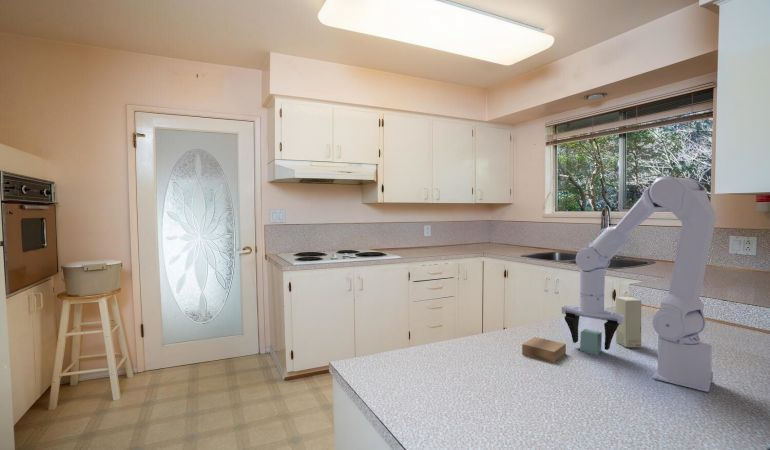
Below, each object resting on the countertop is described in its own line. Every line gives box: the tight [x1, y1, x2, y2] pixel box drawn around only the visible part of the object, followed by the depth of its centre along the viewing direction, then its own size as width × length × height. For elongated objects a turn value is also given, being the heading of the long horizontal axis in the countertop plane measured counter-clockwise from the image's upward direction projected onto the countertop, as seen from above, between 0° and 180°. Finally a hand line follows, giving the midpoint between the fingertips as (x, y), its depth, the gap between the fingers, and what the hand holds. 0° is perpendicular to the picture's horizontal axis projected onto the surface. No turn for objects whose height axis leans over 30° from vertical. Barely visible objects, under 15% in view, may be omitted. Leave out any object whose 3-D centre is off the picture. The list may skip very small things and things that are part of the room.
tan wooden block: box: [521, 336, 567, 363], centre depth 99 cm, size 8×8×3 cm
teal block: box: [579, 328, 603, 355], centre depth 102 cm, size 4×4×5 cm
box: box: [615, 296, 642, 348], centre depth 106 cm, size 5×4×13 cm
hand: (590, 345), depth 102 cm, fingers open, 7 cm apart
